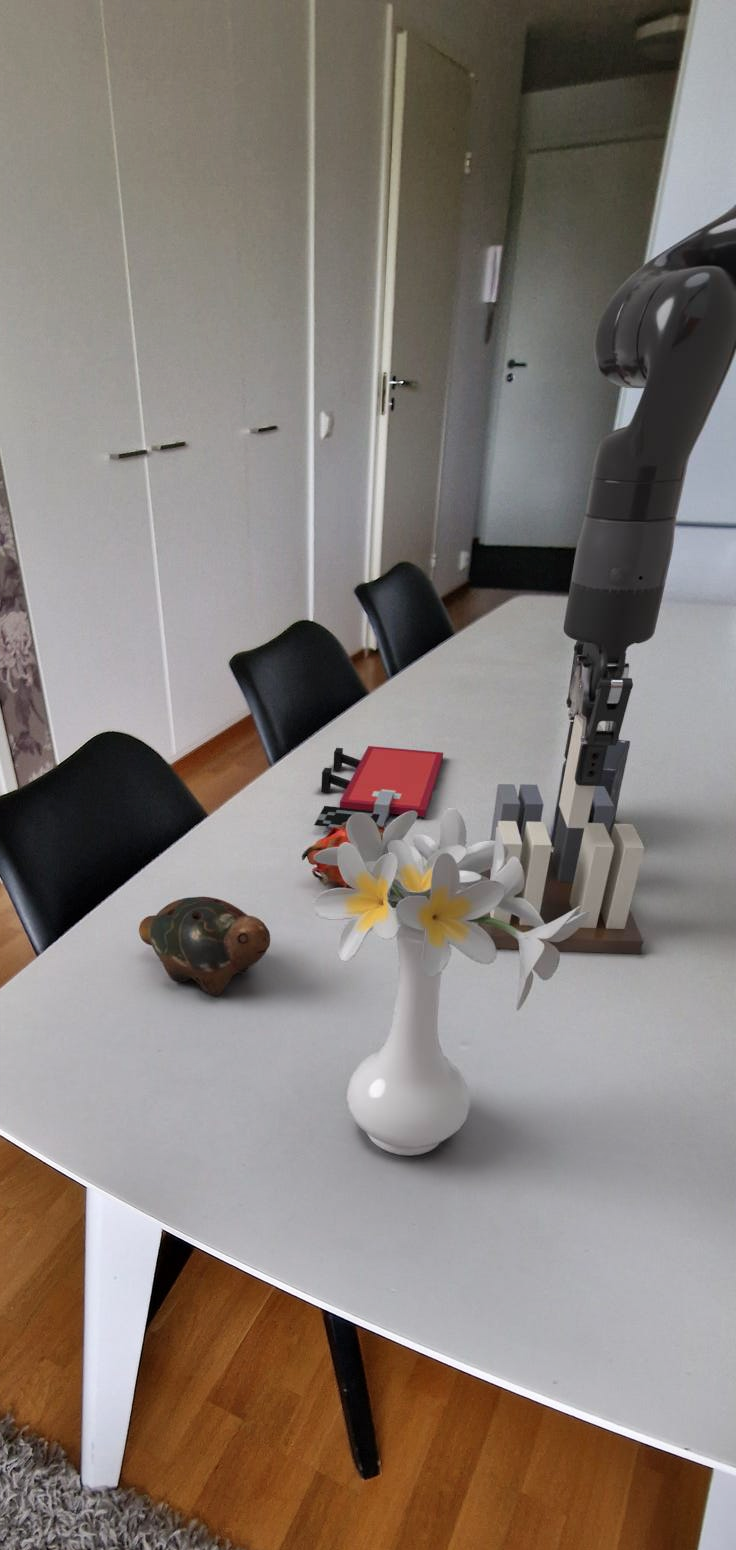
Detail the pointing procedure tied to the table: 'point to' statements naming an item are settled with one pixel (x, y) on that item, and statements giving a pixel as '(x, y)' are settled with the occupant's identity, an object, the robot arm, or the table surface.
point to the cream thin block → (574, 796)
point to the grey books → (567, 839)
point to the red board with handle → (381, 784)
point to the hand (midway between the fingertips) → (581, 771)
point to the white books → (579, 870)
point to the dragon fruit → (331, 840)
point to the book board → (559, 905)
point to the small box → (602, 779)
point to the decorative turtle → (205, 940)
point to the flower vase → (426, 960)
